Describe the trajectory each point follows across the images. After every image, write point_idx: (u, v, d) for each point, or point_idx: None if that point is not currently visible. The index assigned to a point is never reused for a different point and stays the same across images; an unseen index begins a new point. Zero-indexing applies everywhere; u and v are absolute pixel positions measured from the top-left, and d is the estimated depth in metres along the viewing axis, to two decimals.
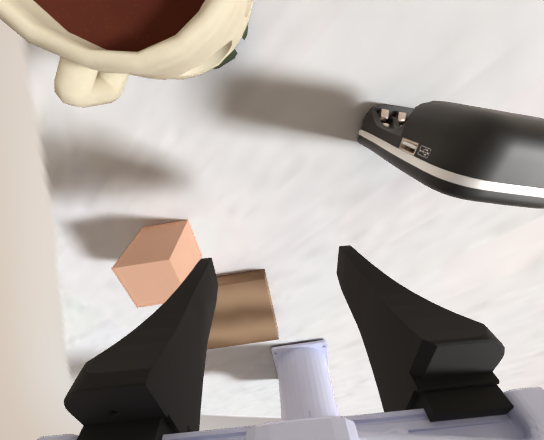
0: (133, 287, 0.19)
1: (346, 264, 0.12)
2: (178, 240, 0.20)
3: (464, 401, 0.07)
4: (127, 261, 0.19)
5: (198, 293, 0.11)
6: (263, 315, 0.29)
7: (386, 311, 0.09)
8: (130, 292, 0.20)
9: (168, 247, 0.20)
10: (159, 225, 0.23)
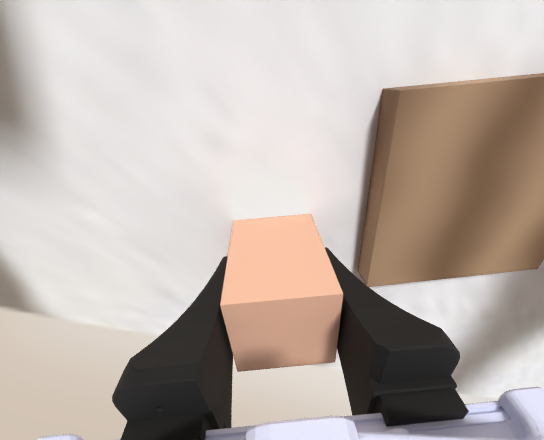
0: (284, 358, 0.11)
1: None
2: (227, 259, 0.11)
3: (420, 406, 0.07)
4: None
5: None
6: (532, 108, 0.10)
7: (351, 314, 0.09)
8: (295, 362, 0.11)
9: None
10: None
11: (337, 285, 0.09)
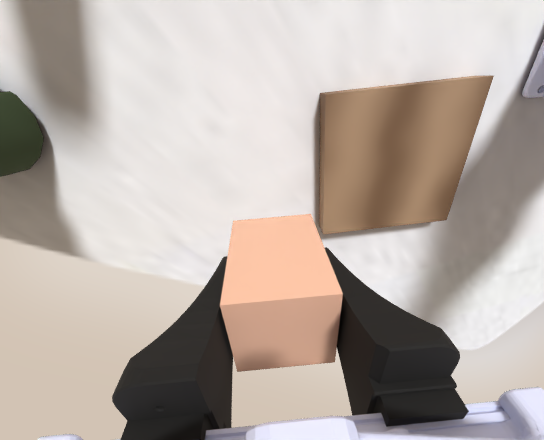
0: (284, 358, 0.11)
1: None
2: (227, 259, 0.11)
3: (420, 406, 0.07)
4: None
5: None
6: (412, 104, 0.16)
7: (351, 314, 0.09)
8: (295, 362, 0.11)
9: None
10: None
11: (337, 285, 0.09)
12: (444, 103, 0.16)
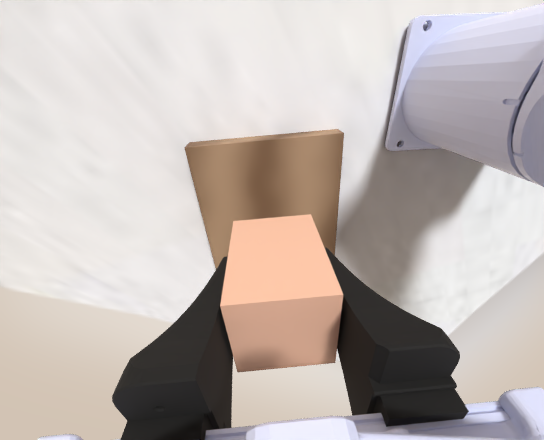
0: (284, 358, 0.11)
1: None
2: (227, 259, 0.11)
3: (420, 406, 0.07)
4: None
5: None
6: (271, 156, 0.17)
7: (351, 314, 0.09)
8: (295, 363, 0.11)
9: None
10: None
11: (337, 286, 0.09)
12: (302, 156, 0.17)
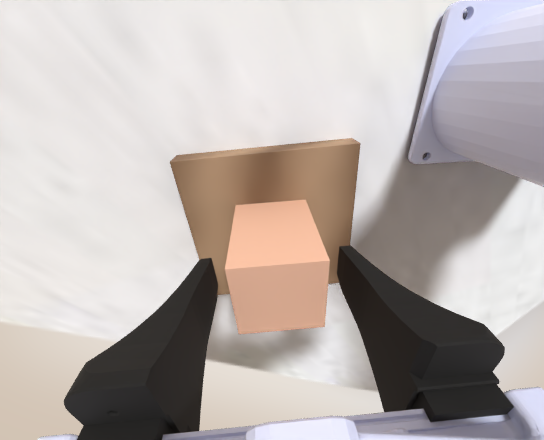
0: (280, 321, 0.12)
1: (346, 264, 0.12)
2: (231, 235, 0.12)
3: (464, 401, 0.07)
4: None
5: (198, 293, 0.11)
6: (273, 171, 0.14)
7: (386, 311, 0.09)
8: (290, 326, 0.12)
9: None
10: None
11: (325, 254, 0.11)
12: (310, 170, 0.15)
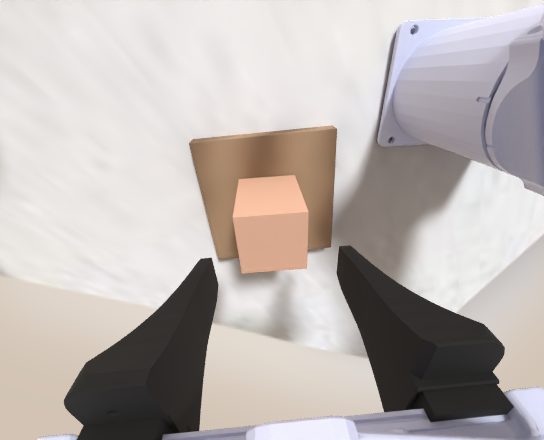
0: (273, 263, 0.16)
1: (346, 264, 0.12)
2: (236, 198, 0.16)
3: (464, 402, 0.07)
4: None
5: (198, 293, 0.11)
6: (270, 151, 0.18)
7: (386, 311, 0.09)
8: (280, 267, 0.16)
9: None
10: None
11: (305, 208, 0.15)
12: (299, 150, 0.19)
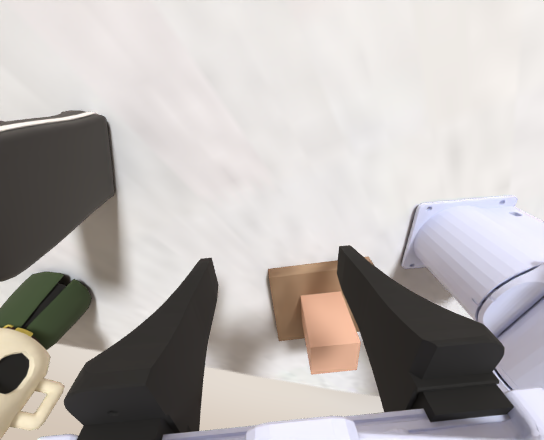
0: (333, 368, 0.23)
1: (346, 264, 0.12)
2: (305, 322, 0.24)
3: (464, 401, 0.07)
4: (310, 362, 0.24)
5: (198, 293, 0.11)
6: (325, 279, 0.26)
7: (386, 311, 0.09)
8: (338, 370, 0.24)
9: (307, 335, 0.23)
10: None
11: (358, 338, 0.22)
12: None
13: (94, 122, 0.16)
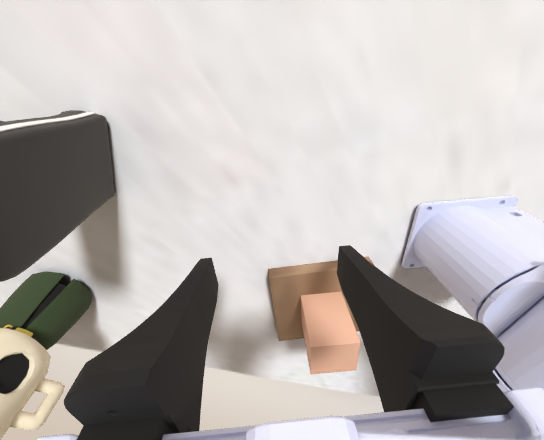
0: (333, 368, 0.23)
1: (346, 264, 0.12)
2: (306, 322, 0.24)
3: (464, 401, 0.07)
4: (309, 362, 0.24)
5: (198, 293, 0.11)
6: (325, 279, 0.26)
7: (386, 311, 0.09)
8: (337, 370, 0.24)
9: (307, 334, 0.23)
10: (301, 314, 0.28)
11: (358, 338, 0.22)
12: None
13: (94, 122, 0.16)
